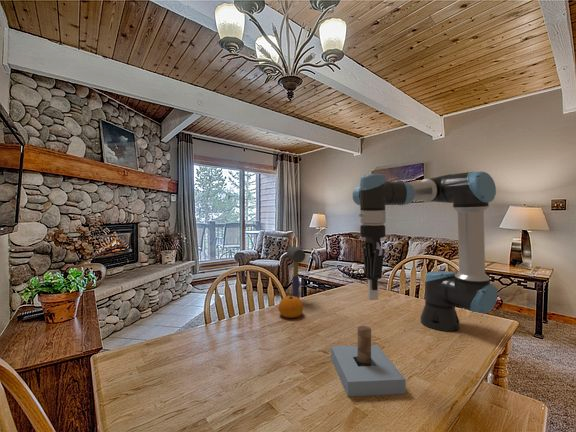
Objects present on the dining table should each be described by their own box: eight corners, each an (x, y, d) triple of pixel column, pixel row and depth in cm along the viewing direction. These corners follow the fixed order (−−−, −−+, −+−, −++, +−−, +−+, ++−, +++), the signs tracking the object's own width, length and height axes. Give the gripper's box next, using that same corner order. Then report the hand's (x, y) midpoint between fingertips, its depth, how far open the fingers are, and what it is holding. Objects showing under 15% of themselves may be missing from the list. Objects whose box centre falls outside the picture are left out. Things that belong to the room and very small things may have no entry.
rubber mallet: (306, 306, 149) (306, 248, 148) (292, 307, 147) (292, 249, 146) (298, 299, 161) (298, 245, 160) (285, 300, 159) (285, 246, 158)
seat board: (377, 356, 99) (377, 344, 98) (405, 393, 79) (405, 379, 79) (330, 358, 97) (331, 346, 97) (347, 396, 77) (347, 381, 77)
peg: (368, 369, 90) (368, 325, 90) (373, 377, 86) (373, 331, 86) (355, 370, 90) (355, 325, 90) (359, 378, 86) (359, 331, 85)
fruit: (307, 314, 138) (307, 293, 138) (295, 322, 128) (295, 299, 128) (287, 309, 144) (287, 289, 144) (273, 316, 135) (273, 295, 134)
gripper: (354, 223, 96) (354, 293, 97) (368, 225, 83) (368, 306, 84) (376, 222, 97) (376, 292, 98) (393, 225, 84) (393, 305, 85)
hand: (372, 299), depth 91 cm, fingers closed
